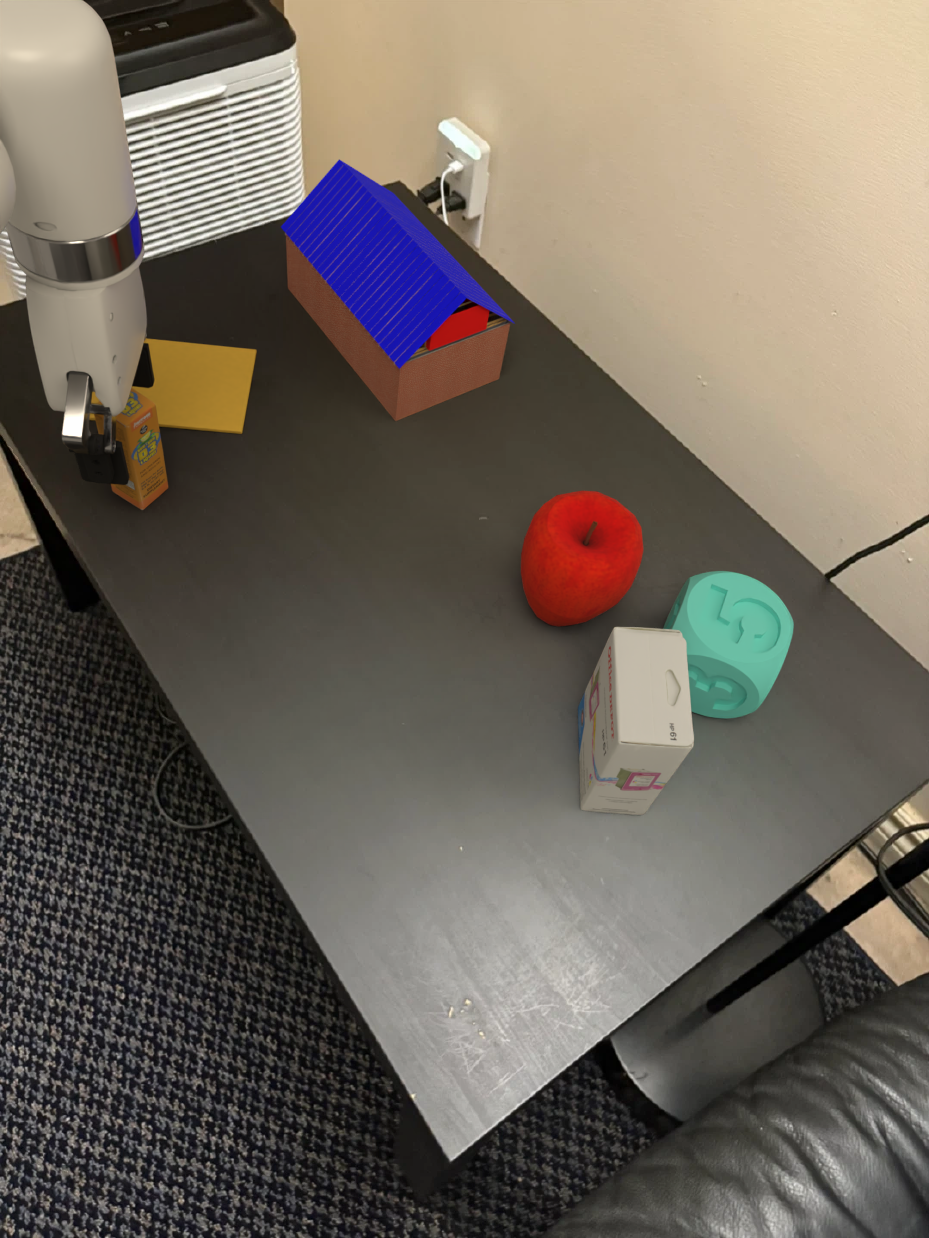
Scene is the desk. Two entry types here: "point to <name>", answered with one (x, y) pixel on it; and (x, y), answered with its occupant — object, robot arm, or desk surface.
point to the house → (391, 295)
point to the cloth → (199, 385)
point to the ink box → (634, 720)
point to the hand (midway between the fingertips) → (120, 430)
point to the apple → (579, 557)
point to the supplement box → (139, 450)
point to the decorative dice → (730, 641)
